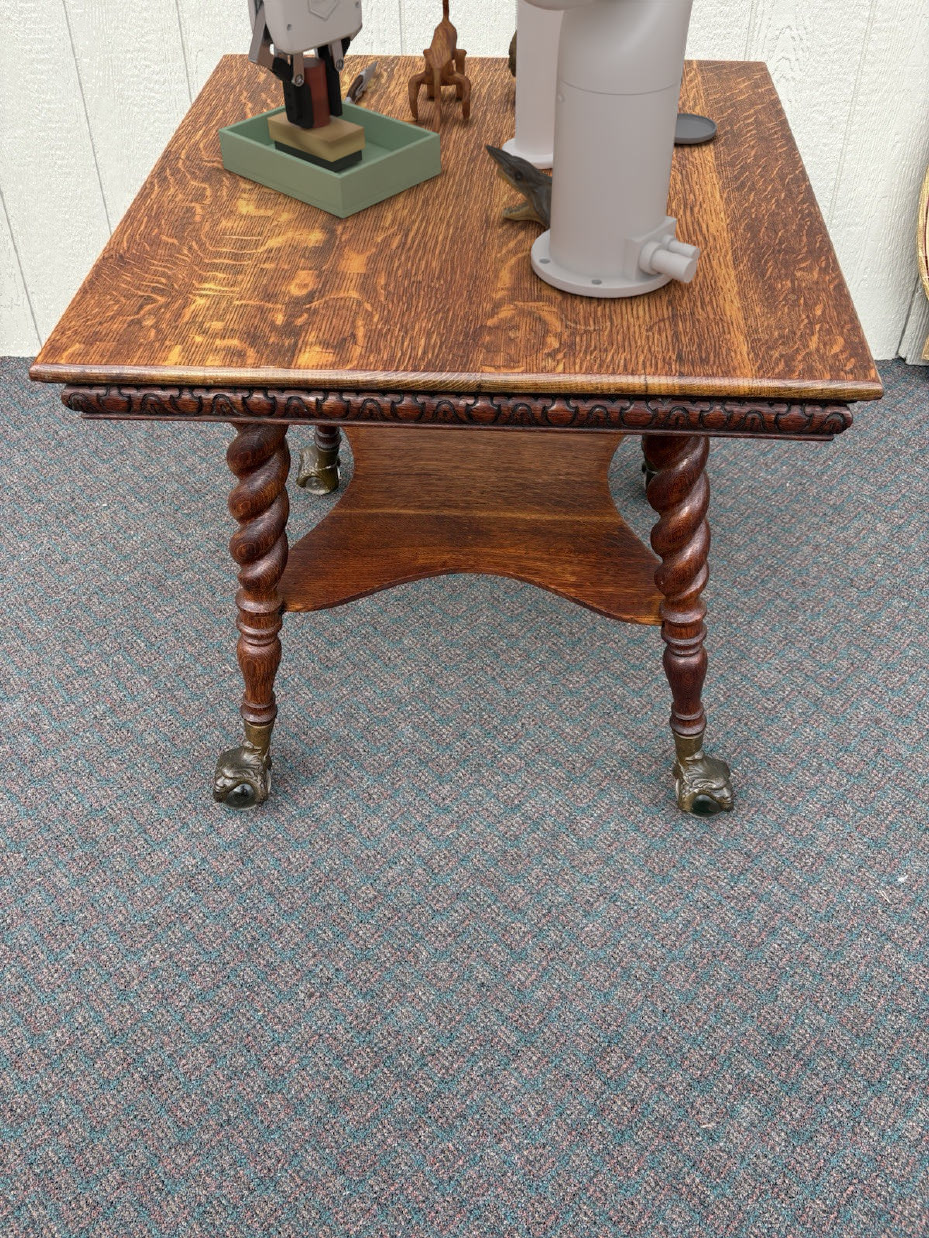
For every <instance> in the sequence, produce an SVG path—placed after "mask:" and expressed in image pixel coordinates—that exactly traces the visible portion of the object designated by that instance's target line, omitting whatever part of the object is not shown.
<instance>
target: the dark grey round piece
mask: <svg viewBox="0 0 929 1238" xmlns="http://www.w3.org/2000/svg"><path fill="white" fill-rule="evenodd" d="M683 78H684V75H683V76H682V78H681V86H680V88H681V87H682V83H683ZM717 131H718V125H717V123H716V122H715V121H714V120H713V119H711V118H710V117H707V116H704V115H700V114H695V113H690V112H689V113H688V112H678V113H677V122H676V130H675V139H674V144H681V145H682V144H683V145H688V144H689V145H690V144H692V145H693V144H698V143H703V142H707V141H709V140H711V139H712V138H714V137H715V135H716V134H717Z"/></svg>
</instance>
